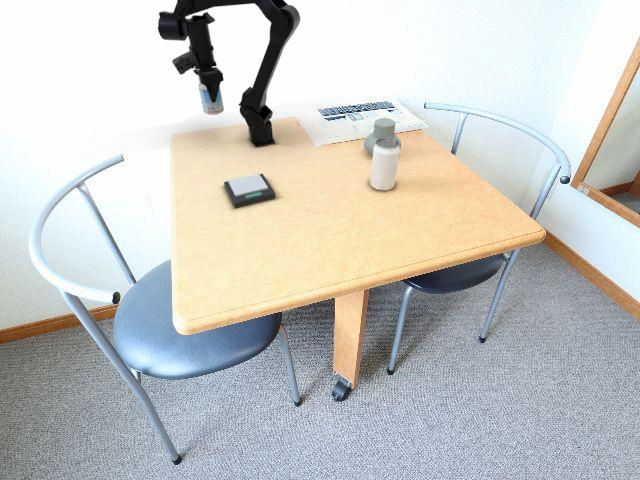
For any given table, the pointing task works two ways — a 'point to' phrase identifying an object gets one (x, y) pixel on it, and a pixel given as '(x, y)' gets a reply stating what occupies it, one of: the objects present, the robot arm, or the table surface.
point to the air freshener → (381, 133)
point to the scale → (249, 190)
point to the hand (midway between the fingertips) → (211, 98)
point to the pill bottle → (207, 103)
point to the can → (384, 164)
